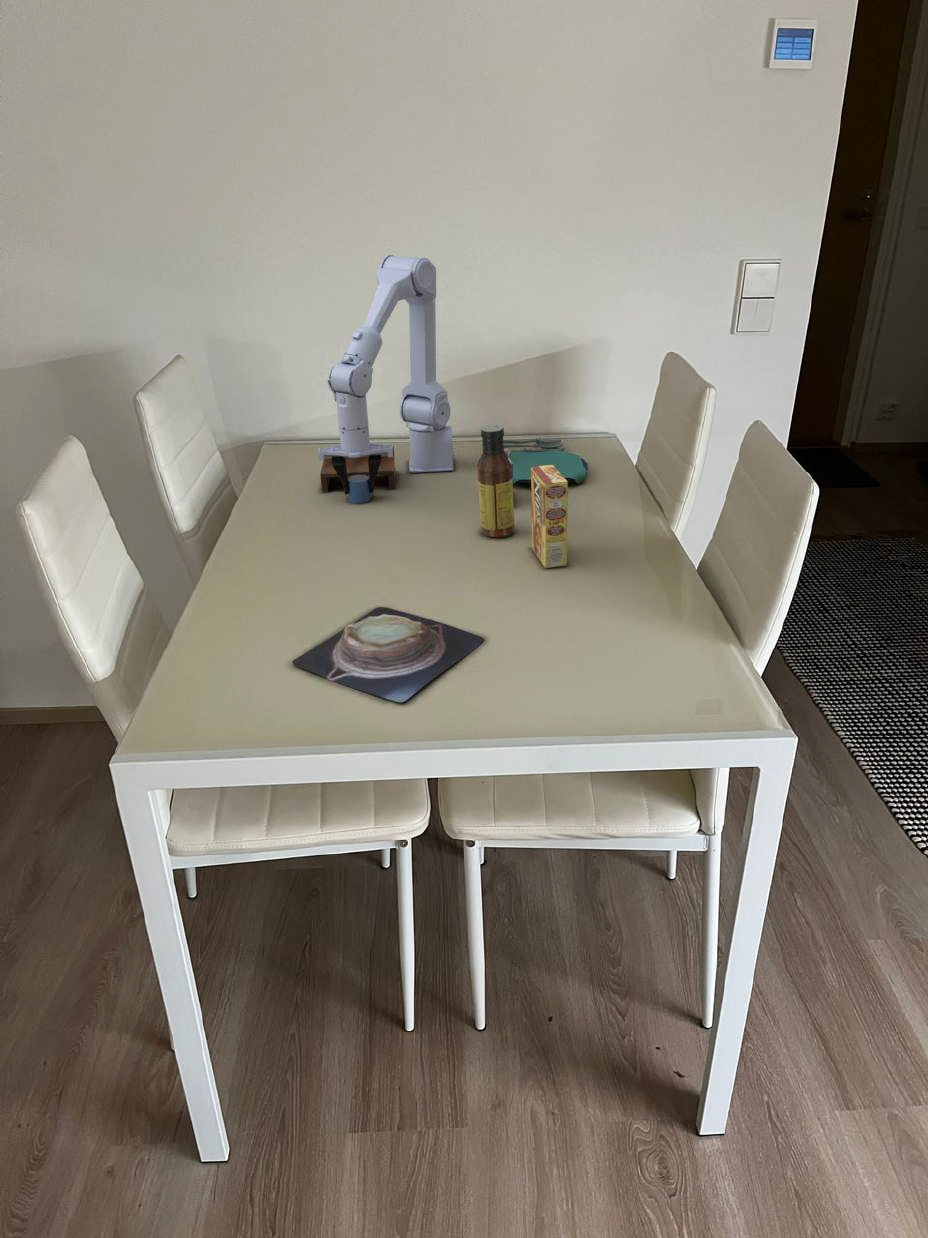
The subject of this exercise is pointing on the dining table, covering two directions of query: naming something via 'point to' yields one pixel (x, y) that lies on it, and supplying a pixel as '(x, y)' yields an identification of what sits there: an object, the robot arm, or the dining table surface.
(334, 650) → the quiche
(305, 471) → the dining table surface
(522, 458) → the cutlery set
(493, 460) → the sauce bottle
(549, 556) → the candy box
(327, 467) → the shelf
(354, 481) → the blue cup
